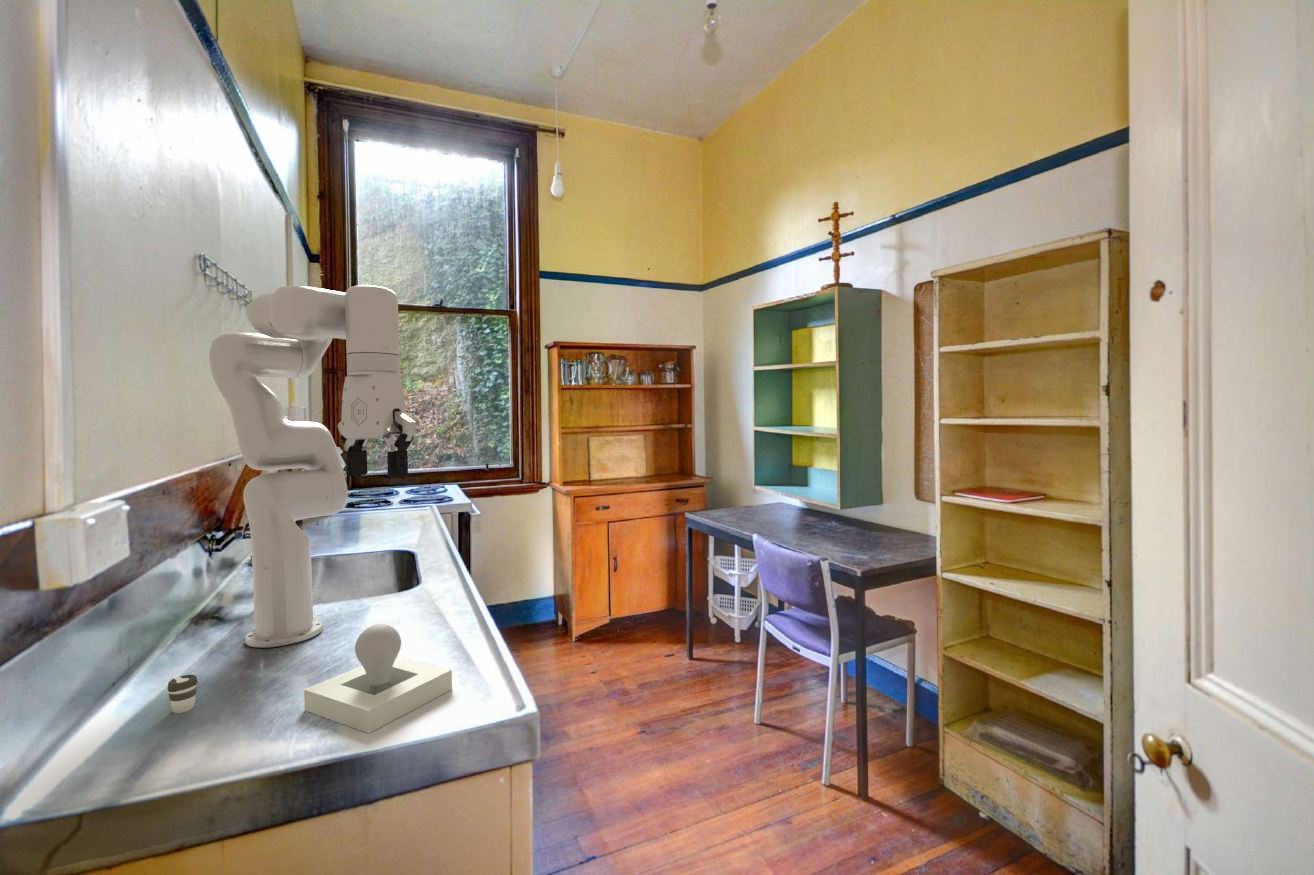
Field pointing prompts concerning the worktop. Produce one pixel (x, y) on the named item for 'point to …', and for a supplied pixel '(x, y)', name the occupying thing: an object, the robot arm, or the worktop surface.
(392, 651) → the lightbulb
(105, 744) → the worktop surface
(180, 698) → the coffee cup
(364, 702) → the socket block
